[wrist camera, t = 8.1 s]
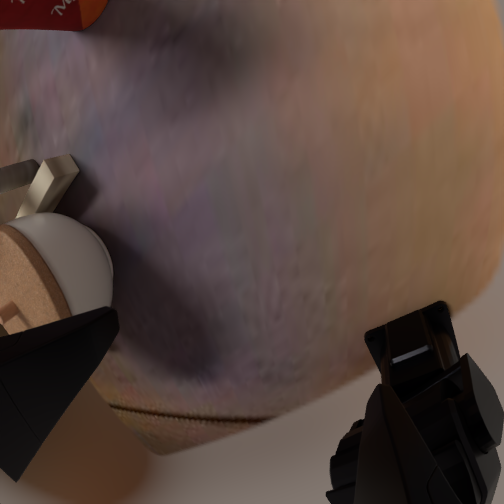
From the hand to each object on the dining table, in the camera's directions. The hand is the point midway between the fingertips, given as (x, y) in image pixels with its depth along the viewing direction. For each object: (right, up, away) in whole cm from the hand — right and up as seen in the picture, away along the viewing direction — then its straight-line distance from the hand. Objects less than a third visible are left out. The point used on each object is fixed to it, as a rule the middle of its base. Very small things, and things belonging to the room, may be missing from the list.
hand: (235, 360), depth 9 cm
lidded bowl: (-15, +3, +17) cm, 23 cm away
